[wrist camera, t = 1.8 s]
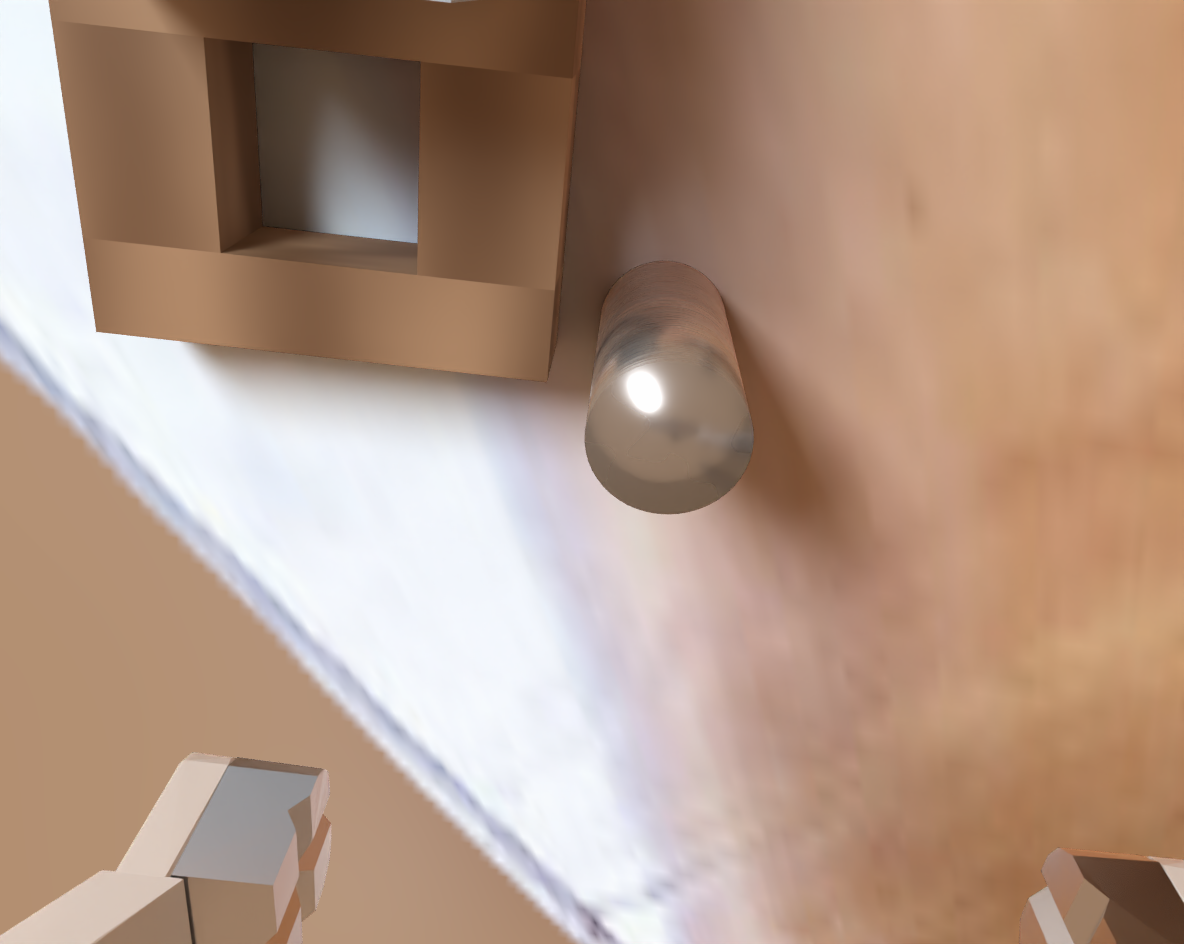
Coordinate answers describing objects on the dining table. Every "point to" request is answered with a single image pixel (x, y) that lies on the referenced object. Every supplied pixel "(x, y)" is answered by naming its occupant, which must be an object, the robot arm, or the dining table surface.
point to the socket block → (310, 259)
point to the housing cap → (451, 1)
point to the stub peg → (666, 393)
